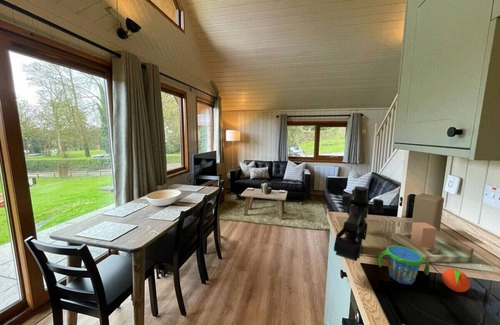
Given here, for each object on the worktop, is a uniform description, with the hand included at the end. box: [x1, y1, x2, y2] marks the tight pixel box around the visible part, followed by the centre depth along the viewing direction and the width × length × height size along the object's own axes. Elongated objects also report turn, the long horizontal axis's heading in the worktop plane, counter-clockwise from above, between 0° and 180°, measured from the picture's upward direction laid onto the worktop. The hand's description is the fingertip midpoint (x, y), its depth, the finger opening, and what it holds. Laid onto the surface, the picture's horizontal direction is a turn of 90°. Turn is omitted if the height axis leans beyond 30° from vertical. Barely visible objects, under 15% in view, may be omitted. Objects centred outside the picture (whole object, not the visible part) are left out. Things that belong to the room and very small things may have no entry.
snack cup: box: [377, 245, 431, 286], centre depth 77 cm, size 16×10×10 cm
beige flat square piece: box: [391, 230, 475, 263], centre depth 98 cm, size 20×20×6 cm
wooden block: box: [410, 192, 445, 232], centre depth 114 cm, size 10×10×20 cm
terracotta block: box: [410, 223, 437, 247], centre depth 97 cm, size 6×6×9 cm
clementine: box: [441, 268, 471, 293], centre depth 72 cm, size 8×7×7 cm
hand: (363, 199), depth 116 cm, fingers open, 9 cm apart
